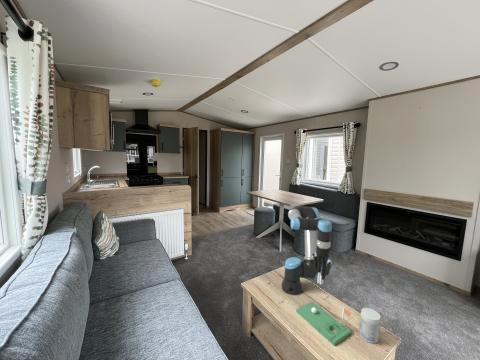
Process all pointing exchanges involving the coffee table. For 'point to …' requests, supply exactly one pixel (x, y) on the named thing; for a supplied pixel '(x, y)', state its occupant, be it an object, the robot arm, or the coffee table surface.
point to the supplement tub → (370, 325)
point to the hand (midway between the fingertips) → (320, 282)
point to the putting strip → (324, 322)
